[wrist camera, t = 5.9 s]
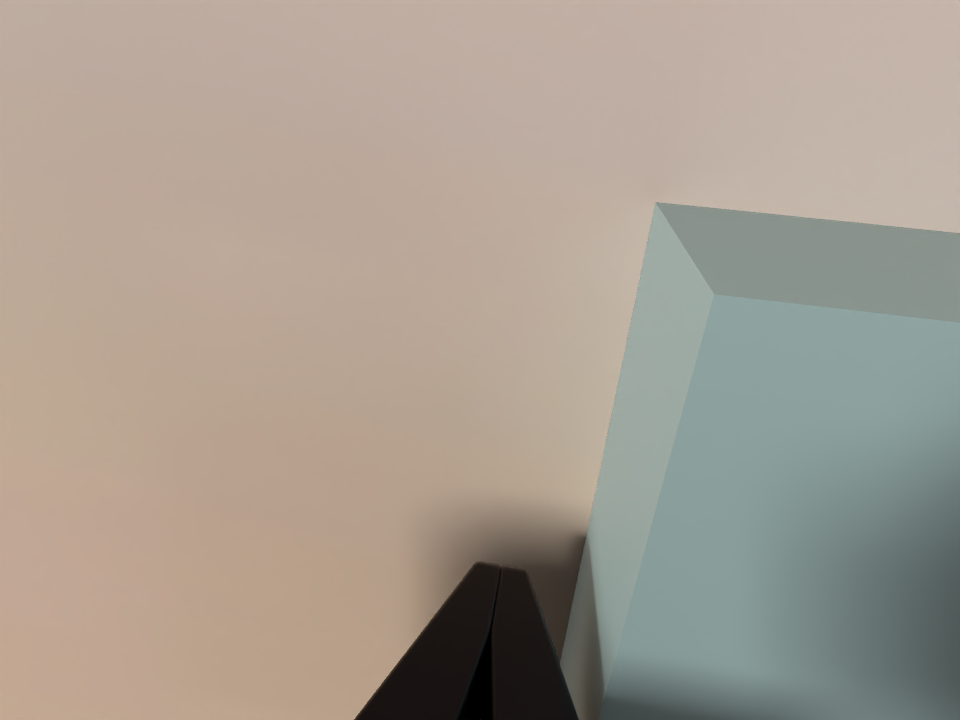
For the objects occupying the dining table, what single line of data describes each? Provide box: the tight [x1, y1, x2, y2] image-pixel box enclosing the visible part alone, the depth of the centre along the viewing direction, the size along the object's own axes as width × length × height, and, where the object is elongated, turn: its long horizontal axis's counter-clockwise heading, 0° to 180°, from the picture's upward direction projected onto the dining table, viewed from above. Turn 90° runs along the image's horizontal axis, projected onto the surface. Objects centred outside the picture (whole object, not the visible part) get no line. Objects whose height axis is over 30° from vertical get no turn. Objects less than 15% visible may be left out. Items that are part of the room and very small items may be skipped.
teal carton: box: [560, 202, 960, 720], centre depth 8 cm, size 11×9×4 cm
